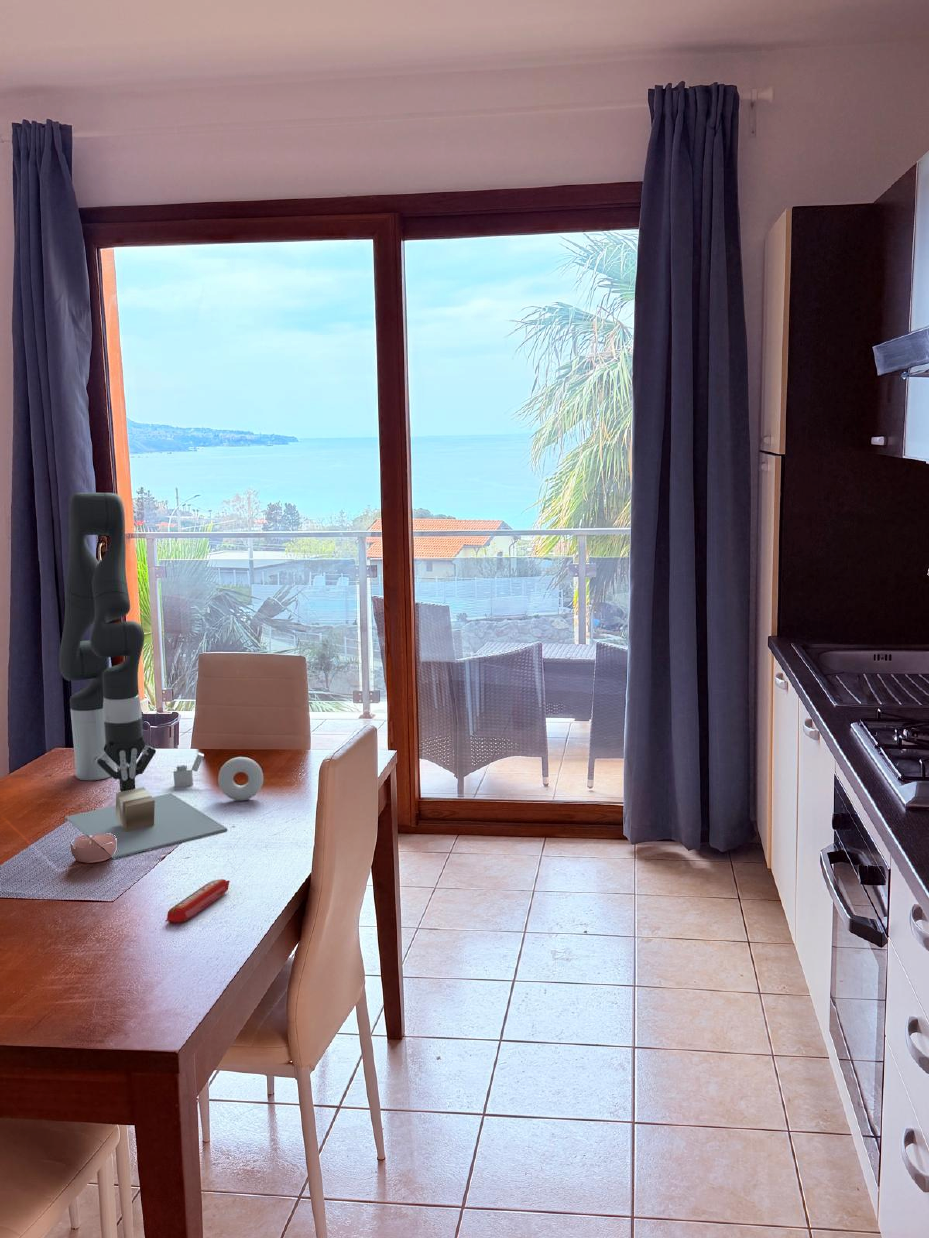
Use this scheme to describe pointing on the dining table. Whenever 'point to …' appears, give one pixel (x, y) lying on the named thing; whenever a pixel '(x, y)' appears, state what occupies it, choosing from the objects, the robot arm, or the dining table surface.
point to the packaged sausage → (197, 901)
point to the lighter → (186, 773)
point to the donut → (236, 790)
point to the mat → (169, 826)
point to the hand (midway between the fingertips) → (127, 794)
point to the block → (135, 809)
